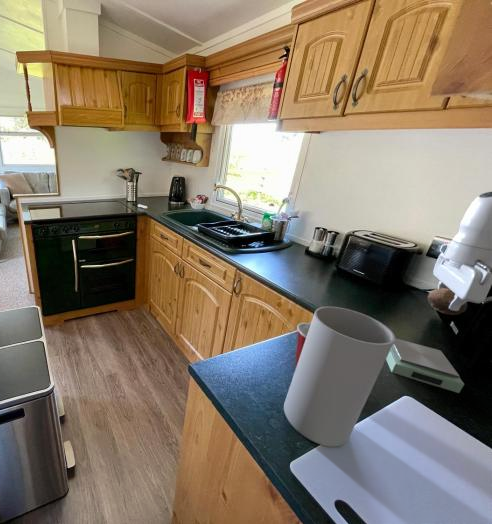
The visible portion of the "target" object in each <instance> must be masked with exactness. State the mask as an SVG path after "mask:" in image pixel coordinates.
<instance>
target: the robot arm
mask: <svg viewBox="0 0 492 524" xmlns="http://www.w3.org/2000/svg"><path fill="white" fill-rule="evenodd" d="M439 252H440V254H439V255H438V256H437V260H436V261H435V265H434V266H433V271H432V275H433V276H435V278H436V279H437V280H439V281H438V283H437V289H442V288H445V289H450V290H451V291H453V292H454V293H455V296H454V297H455V298H454V300H453V301H452V302H451V301H450V302H449V304H448V305H447V307H448V308H449V309H450V310H453V311H458V310H459V309H460V307H461V306H462V305H463V304H465V303H466V302H467V303H468V302H470V303H473V304H474V303H475V304H481V303H482V302H484V301H485V299H486V298H487V296H488V294H489V292H490V289H491V288H492V271H491V269H492V191H487V192H483V193H481V194H479V195H477V196H476V198H475V199H474V200H472V202H471V204H470V206H468V208H467V209H466V211H465V214H464V216H463V217H462V219H461V221H460V224H459V230H458V232H457V233H456V234H455V236H454V237H453V238H452V240H451V241H450V243H444V244H442V245H441V246H440V248H439Z"/></svg>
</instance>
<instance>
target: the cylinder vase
mask: <svg viewBox="0 0 492 524" xmlns="http://www.w3.org/2000/svg"><path fill="white" fill-rule="evenodd" d="M310 323H311V325H310V328H309V331H308V334H307V337H306V340H305V343H304V346H303V349H302V352H301V355H300V358H299V361H298V364H297V367H296V366H295V370H294V373H293V376H292V380H291V382H290V385H289V387H288V391H287V395H286V397H285V399H284V404H283V411H284V414H285V417H286V419H287V421H288V423H289V424H290V425H291V426H292V427H293V429H294V430H296V432H298V433H299V434H300V435H302V436H303V437H305V438H306V439H308V440H309V441H312V442H313V443H316V444H318V445H321V446H324V447H341V446H342V445H345V444H346V443H347V442H348V440H349V439H350V436H351V435H352V432H353V431H354V428H355V426H356V424H357V422H358V420H359V417H360V415H361V413H362V411H363V409H364V407H365V405H366V403H367V400H368V398H369V397H370V394H371V392H372V390H373V388H374V385H375V384H376V382H377V379H378V377H379V375H380V374H381V370H382V369H383V366H384V365H385V362H386V361H387V360H386V358H387V356H388V354H389V352H390V349H391V347H392V345H393V343H394V341H395V338H396V335H395V334H394V332H393V331H392V329H390V328H389V327H388V326H387V325H386V324H384V323H382V322H380V321H379V320H377V319H375V318H373V317H371V316H369V315H366V314H364V313H362V312H359V311H356V310H352V309H349V308H344V307H339V306H321V307H318V308H317V309H315V310H314V314H313V316H312V319H311V322H310Z"/></svg>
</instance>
